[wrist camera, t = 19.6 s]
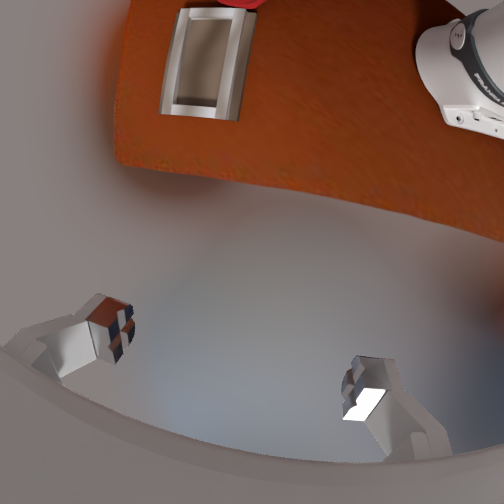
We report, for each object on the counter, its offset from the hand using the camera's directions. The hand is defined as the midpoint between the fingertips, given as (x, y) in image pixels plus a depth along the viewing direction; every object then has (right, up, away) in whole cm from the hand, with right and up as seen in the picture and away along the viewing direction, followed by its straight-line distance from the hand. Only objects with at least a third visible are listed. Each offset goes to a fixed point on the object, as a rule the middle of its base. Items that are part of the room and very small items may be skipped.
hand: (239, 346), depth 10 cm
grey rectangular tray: (-6, +30, +25) cm, 40 cm away
